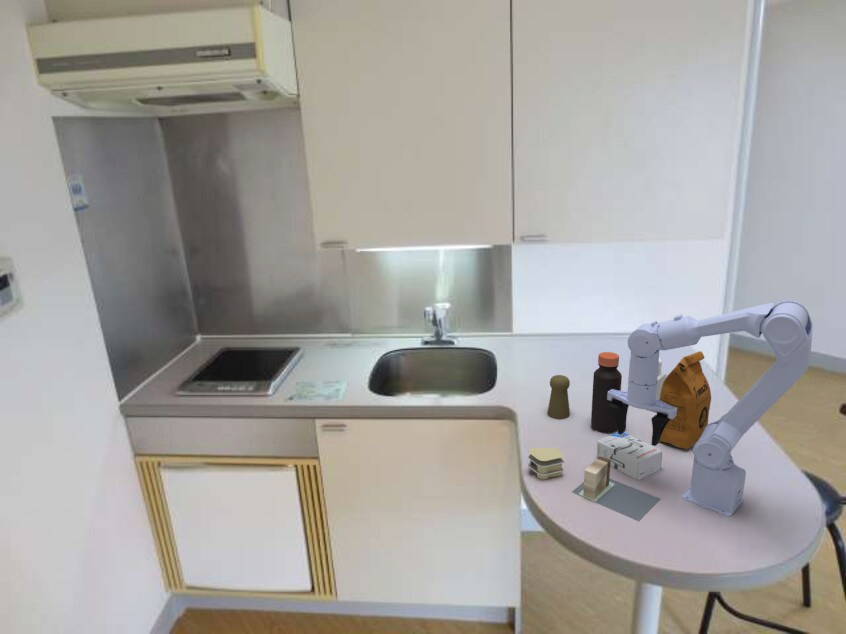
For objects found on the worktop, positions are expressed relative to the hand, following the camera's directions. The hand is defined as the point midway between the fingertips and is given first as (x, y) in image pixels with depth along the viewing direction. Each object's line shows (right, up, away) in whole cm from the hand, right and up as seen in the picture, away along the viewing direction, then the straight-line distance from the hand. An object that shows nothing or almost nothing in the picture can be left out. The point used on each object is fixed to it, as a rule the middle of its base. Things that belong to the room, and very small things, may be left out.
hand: (638, 438), depth 129 cm
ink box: (-3, -4, +12) cm, 13 cm away
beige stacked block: (-19, -10, +5) cm, 22 cm away
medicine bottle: (+18, +3, +41) cm, 45 cm away
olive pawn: (-10, 0, +33) cm, 34 cm away
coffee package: (+17, -4, +18) cm, 25 cm away
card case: (-10, -11, -2) cm, 15 cm away
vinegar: (0, -2, +24) cm, 25 cm away
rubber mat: (-6, -11, -4) cm, 14 cm away
